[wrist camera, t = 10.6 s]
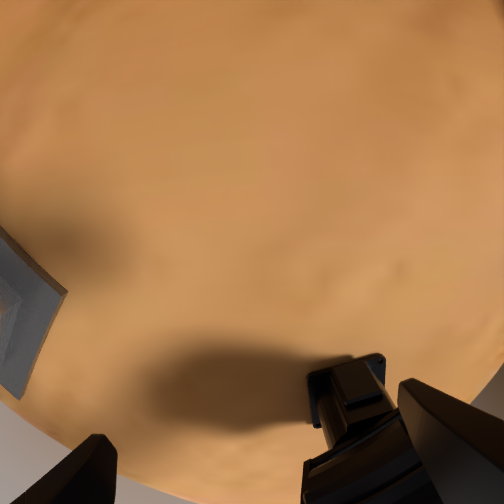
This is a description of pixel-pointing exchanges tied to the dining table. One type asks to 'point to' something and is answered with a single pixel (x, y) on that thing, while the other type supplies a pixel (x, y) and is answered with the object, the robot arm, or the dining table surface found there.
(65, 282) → the dining table surface
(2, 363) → the duct collar
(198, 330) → the dining table surface
